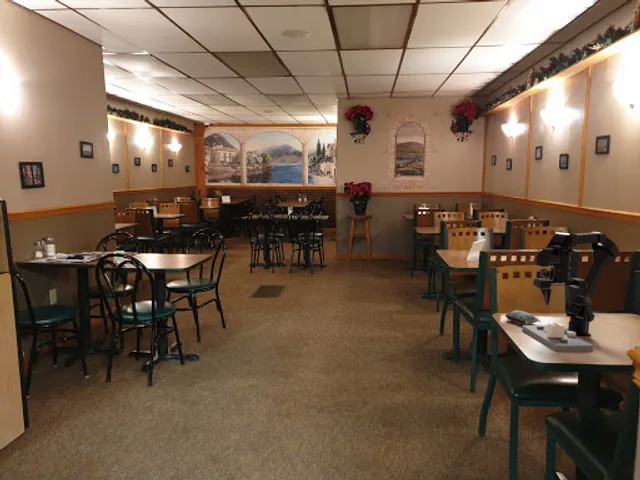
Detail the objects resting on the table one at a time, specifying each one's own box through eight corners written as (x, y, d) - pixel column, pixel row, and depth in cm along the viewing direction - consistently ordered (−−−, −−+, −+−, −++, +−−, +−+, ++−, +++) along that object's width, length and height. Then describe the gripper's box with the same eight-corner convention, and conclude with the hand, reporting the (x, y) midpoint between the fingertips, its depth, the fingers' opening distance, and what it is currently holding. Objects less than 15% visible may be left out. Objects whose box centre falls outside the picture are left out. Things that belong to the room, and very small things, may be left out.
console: (522, 330, 195) (522, 321, 194) (554, 329, 196) (555, 321, 195) (555, 351, 171) (556, 341, 170) (592, 350, 172) (593, 341, 172)
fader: (546, 334, 181) (547, 323, 181) (559, 334, 182) (560, 322, 181) (551, 337, 178) (552, 325, 178) (564, 337, 179) (565, 325, 178)
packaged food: (518, 318, 212) (519, 307, 212) (540, 325, 202) (541, 314, 201) (503, 320, 209) (504, 309, 208) (525, 328, 198) (526, 316, 198)
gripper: (571, 261, 192) (568, 299, 194) (527, 261, 190) (524, 299, 192) (589, 266, 181) (586, 306, 183) (542, 266, 179) (539, 307, 181)
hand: (558, 304), depth 185 cm, fingers open, 9 cm apart
